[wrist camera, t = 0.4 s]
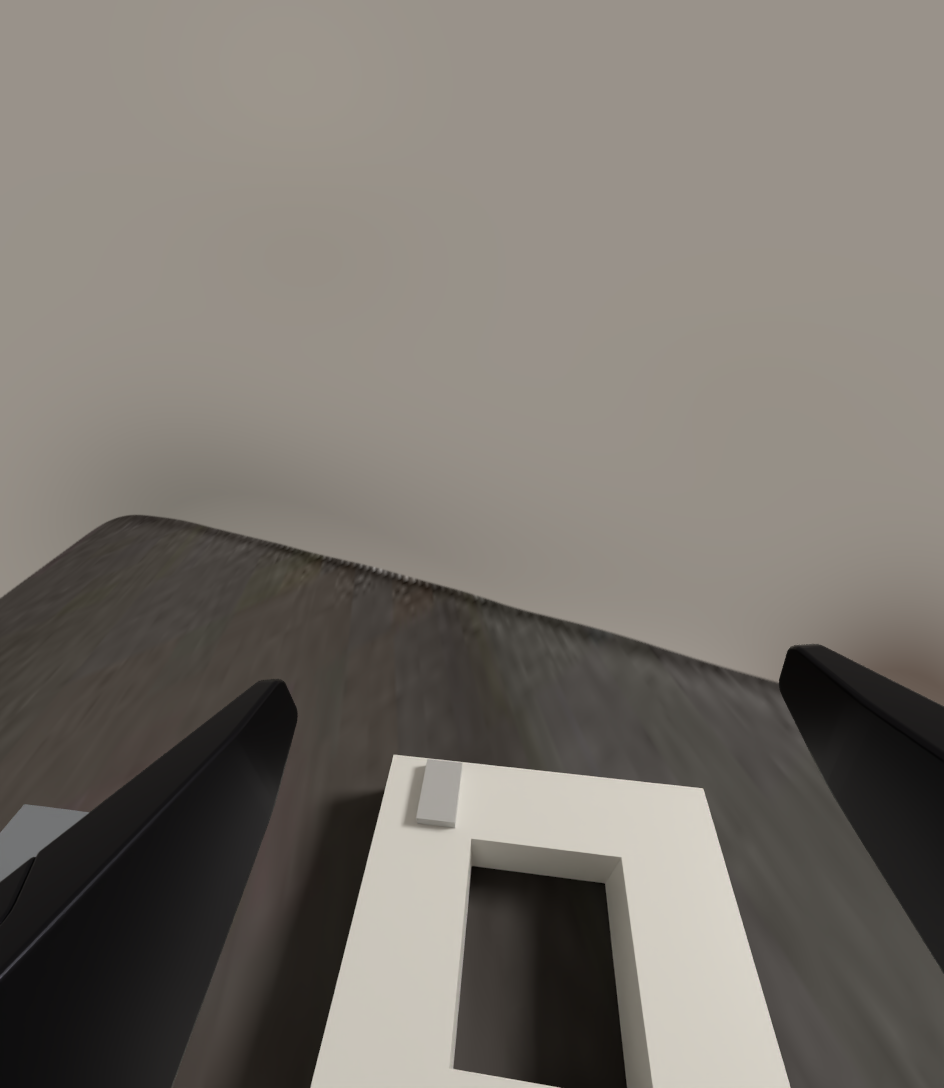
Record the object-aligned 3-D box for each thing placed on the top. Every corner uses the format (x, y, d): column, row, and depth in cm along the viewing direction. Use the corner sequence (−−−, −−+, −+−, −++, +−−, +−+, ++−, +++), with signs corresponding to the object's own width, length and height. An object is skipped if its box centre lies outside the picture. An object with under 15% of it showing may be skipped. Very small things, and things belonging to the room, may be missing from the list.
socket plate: (796, 1304, 12) (883, 1363, 9) (308, 1203, 13) (268, 1230, 11) (679, 819, 21) (707, 782, 19) (401, 787, 22) (392, 748, 20)
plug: (161, 1020, 16) (21, 990, 11) (64, 1003, 16) (-114, 966, 11) (221, 888, 19) (133, 818, 14) (139, 876, 20) (24, 804, 15)
